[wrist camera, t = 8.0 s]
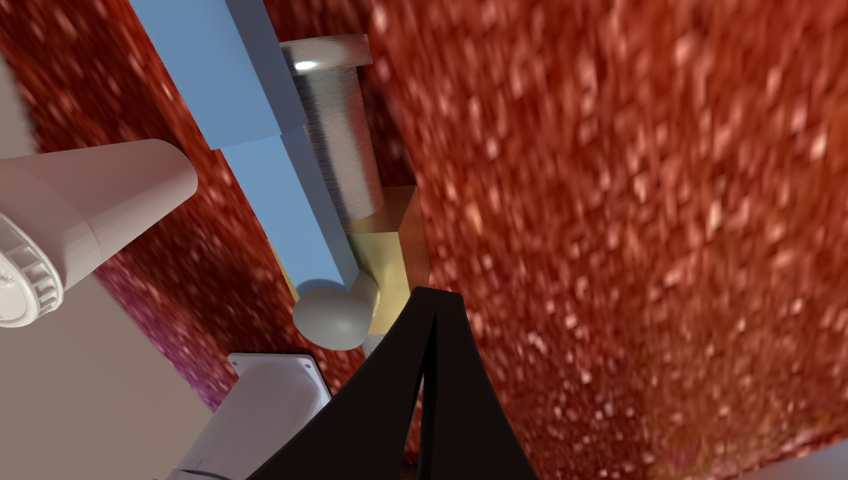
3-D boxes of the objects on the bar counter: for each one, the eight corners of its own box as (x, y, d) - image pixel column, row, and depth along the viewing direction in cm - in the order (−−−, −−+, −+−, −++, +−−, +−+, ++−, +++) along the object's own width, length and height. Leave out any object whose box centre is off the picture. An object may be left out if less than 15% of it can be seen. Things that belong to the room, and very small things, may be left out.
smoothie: (93, 147, 19) (-546, 318, 7) (152, 90, 17) (-651, 202, 5) (179, 231, 21) (-184, 460, 10) (241, 192, 19) (-137, 430, 7)
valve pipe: (441, 346, 24) (434, 414, 19) (366, 345, 25) (343, 409, 21) (393, 33, 14) (356, 27, 9) (270, 54, 15) (186, 58, 10)
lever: (387, 314, 15) (376, 348, 14) (328, 317, 16) (310, 351, 14) (262, -26, 9) (210, -44, 7) (173, 6, 10) (105, -3, 8)
